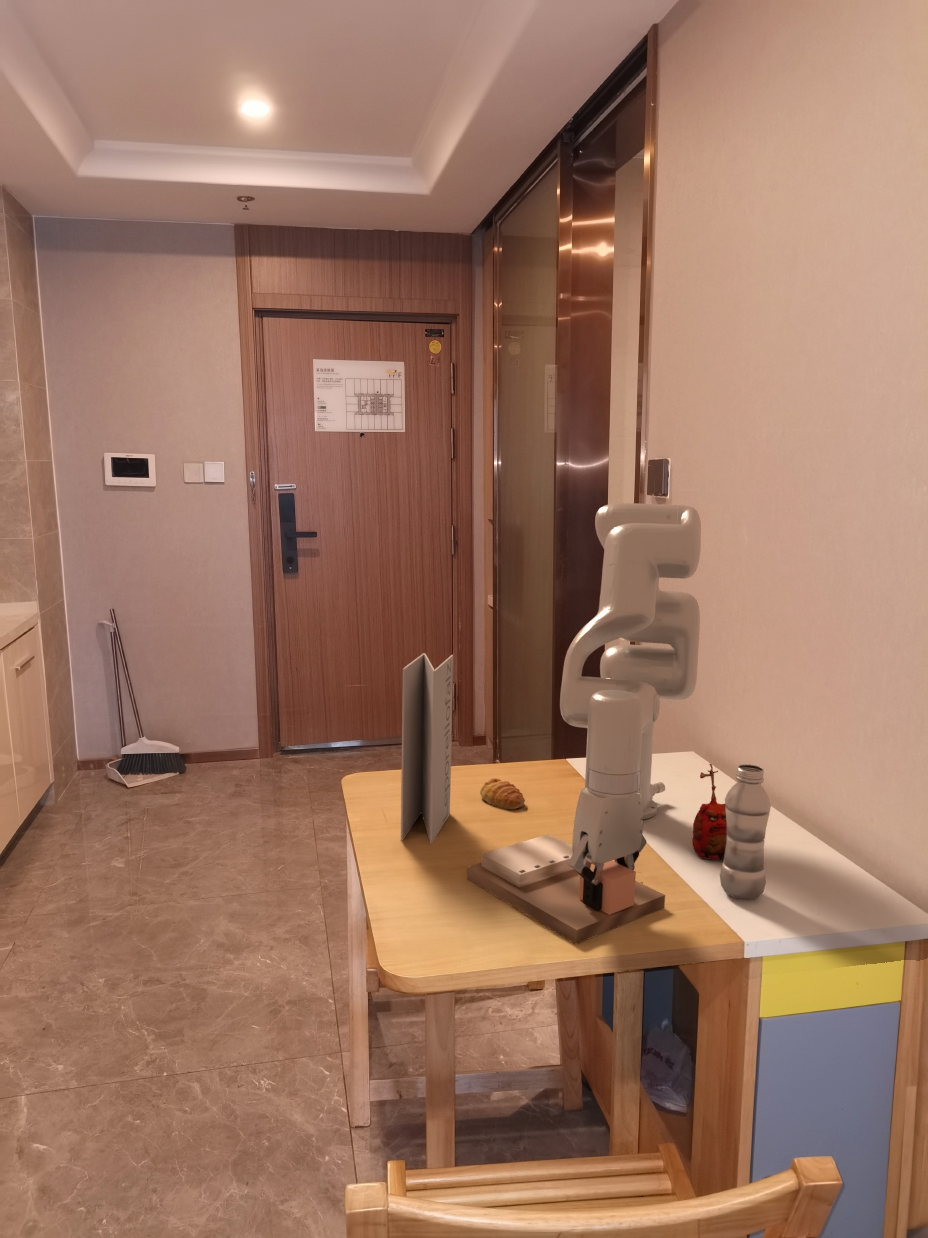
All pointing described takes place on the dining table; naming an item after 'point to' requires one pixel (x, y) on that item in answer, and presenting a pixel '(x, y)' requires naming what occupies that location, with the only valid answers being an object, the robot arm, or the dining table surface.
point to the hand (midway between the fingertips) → (606, 900)
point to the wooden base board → (553, 888)
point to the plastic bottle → (745, 835)
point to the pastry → (502, 794)
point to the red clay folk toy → (710, 827)
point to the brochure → (426, 744)
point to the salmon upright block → (614, 887)
